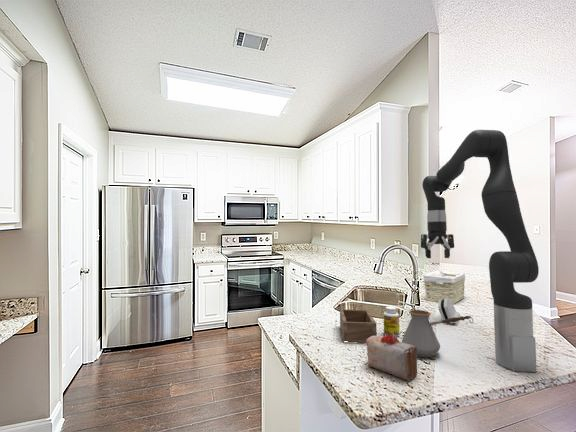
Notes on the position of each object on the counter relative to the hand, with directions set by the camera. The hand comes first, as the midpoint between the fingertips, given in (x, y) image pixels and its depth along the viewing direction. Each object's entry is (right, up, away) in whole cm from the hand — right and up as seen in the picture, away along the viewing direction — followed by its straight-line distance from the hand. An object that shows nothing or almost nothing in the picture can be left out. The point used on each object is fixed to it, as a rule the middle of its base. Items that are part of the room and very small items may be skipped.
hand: (437, 258), depth 130 cm
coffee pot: (-19, -26, -37) cm, 49 cm away
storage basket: (+24, -29, +40) cm, 55 cm away
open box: (-39, -27, -17) cm, 50 cm away
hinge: (+6, -28, +2) cm, 29 cm away
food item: (-36, -26, -45) cm, 63 cm away
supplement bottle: (-26, -27, -17) cm, 41 cm away
